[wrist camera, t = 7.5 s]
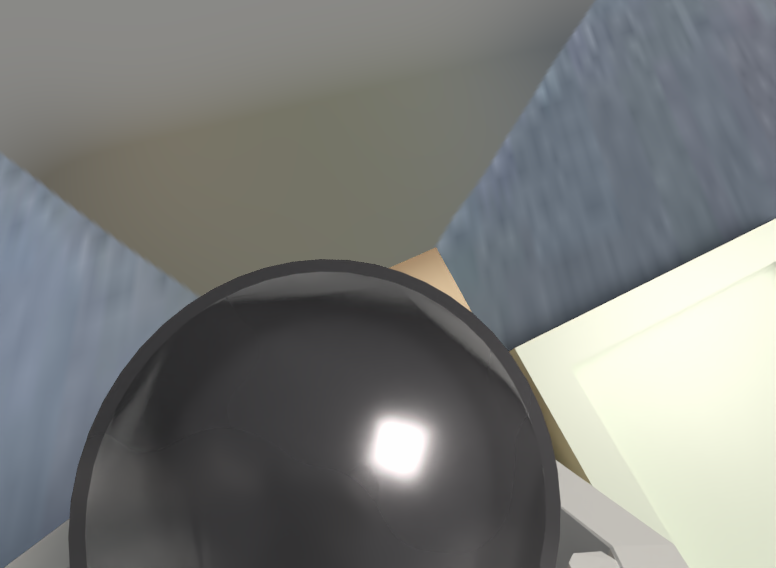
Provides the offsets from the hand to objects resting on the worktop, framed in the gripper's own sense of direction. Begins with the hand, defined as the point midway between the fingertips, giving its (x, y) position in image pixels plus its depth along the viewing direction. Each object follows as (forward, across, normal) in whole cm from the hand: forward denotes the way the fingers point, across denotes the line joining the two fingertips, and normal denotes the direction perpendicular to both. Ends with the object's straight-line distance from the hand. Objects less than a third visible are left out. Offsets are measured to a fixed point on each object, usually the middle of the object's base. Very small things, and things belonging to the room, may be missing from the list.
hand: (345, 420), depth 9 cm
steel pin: (+5, 0, +6) cm, 8 cm away
